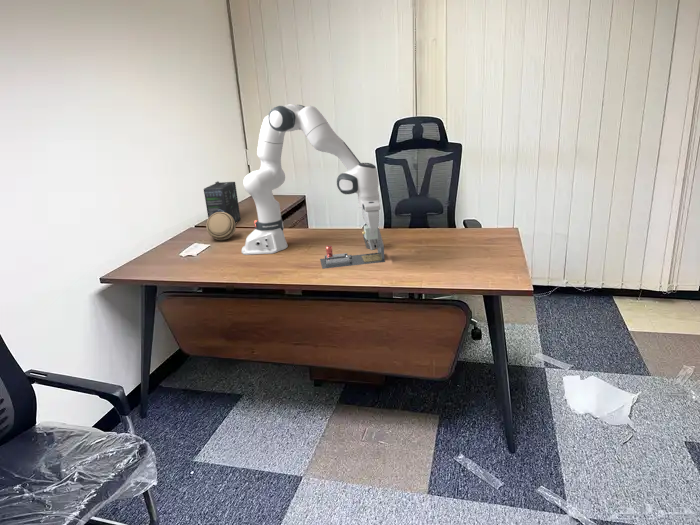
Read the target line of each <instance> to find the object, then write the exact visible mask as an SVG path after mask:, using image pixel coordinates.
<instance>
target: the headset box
mask: <svg viewBox="0 0 700 525" xmlns="http://www.w3.org/2000/svg"><path fill="white" fill-rule="evenodd" d="M203 194H204V199H205V206H206V212H207V219H208V218H209V217H210V216H211V215H212V214H214V213H216V212H225V213H228V214H229V215H231V216H232V217H233V219H234V221H235V224H237V223H238V222H239V221H241V220H240V219H241V213H240V205H239V201H238V199H239V198H238V193H237V184H236V181H227V182H226V181H224V182H220V181H215V182H214V184H211V185H209V186H207V187H204V188H203ZM238 220H239V221H238ZM237 221H238V222H237ZM236 222H237V223H236Z"/></svg>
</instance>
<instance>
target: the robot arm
mask: <svg viewBox="0 0 700 525" xmlns="http://www.w3.org/2000/svg"><path fill="white" fill-rule="evenodd" d="M298 130H299V131H300V130H301V131H302V133H303V134H304V136H305V137H306V139H307V141H308V142H309V144H310V145H311V146H312V147H313V148H314V150H316V151H318V152H322V153H327V154H331V155H333V156H335V157H337V158H338V159H339V161H341V163H342V164H343V165H344V166H345V168H346V169H347V171H343V172H342V173H340V174H339V175H338V177H337V178H336V187H337V190H338V191H339V192H340V193H341V194H343V195H352V194H357V199H358V202H357V203H358V208H359V209H361V216H362V217H361V218H362V220H363V221H364V223H365V226H366V225H368V227H369V229H370V236H374V231H375V229H378V228H379V226H380V210H381V203H380V193H379V189H378V188H379V174H378V169H377V167H376V165H375V164H373V163H370V162H361V161H359V159H358V158H357V157H356V155H355V153H354V152H353V151H352V150H351V148H350V147H349V146H348V145H347V144H346V142H345V141H344V140H343V139H342V138H341V137H340V136H339V135H338V134H337V133H336V132H335V131H334V129H333V128H332V127H331V125H330V124H329V123H328V121H327V119H326V117H325V116H324V115H323V114H322V113H321V112H320V110H319V109H317V108H316V107H315V106H313V105H307V106H305V105H302V104H286V105H278V106H277V105H276V106H274V107H273V108H271V109H270V111H269V112H268V115H266V116H265V117H264V118H263V120H262V124H261V127H260V131H259V134H258V142H257V150H256V155H257V157H258V159H259V160H260V167H259V169H257V170H253V171H252V170H251V172H249V173H248V174H247V175H245V176H244V178H243V181H242V182H243V183H242V184H243V189H244V190H245V192H246V193H248V194H249V195H250V196H251V198H252V199H253V201H254V204H255V207H256V213H257V219H258V220H256V219H255V220H254V222H253V224H254V229H253V231H252V232H250V233H249V234H248V235H247V236H246V239H245V244H244V246H242V248H241V254H242V255H245V256H246V255H265V254H267V255H268V254H275V253H277V252H280V251H284V250H285V249H287V248H288V243H287V240H286V237H285V233H284V221H283V218H282V215H281V213H282V212H281V205H280V202H279V201H278V200H277V199H275V198H276V197H275V196H274V194H273V191H274V190H277V189H279V187H281V185H283V184H284V183H285V181H286V174H285V171H284V170H283V169H282V168H283V167H282V153H283V145H284V141H285V140H284V139H285V135H286V132H294V131H298Z"/></svg>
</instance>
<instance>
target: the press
mask: <svg viewBox="0 0 700 525" xmlns="http://www.w3.org/2000/svg"><path fill="white" fill-rule="evenodd" d="M376 249H377V252H372V253H371V252H370V253H363V254H353V255H352V254H351V255H352V259H349V257H346V258H337V259H328V260H326V255H327V254H326V255H324V258H320V259H319V260H320V265H321V268H322V270H324V269H333V268H343V267H351V266H359V265H369V264H378V263H386V260H385V247H384V246H383V245H382V243H381V242H380V241H377V248H376ZM342 254H345V255H349V254H348V253H347V252H345V253H342ZM333 255H335V253H333Z"/></svg>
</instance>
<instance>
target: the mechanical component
mask: <svg viewBox="0 0 700 525" xmlns="http://www.w3.org/2000/svg"><path fill="white" fill-rule="evenodd" d="M236 224H237V223H235V221H234V219H233V217H232V216H231V215H229V214H228V213H225V212H216V213H214V214H212V215H211V216H210V217H209V218H208V217H207V220H206V225H205V227H206V231H207V233H208V235H209V236H210V237H211V238H213V239H214V240H217V241H226V240H229V239H230V238H231V237H232V236H233V235H234V233H235V232H236V226H237V225H236Z"/></svg>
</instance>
